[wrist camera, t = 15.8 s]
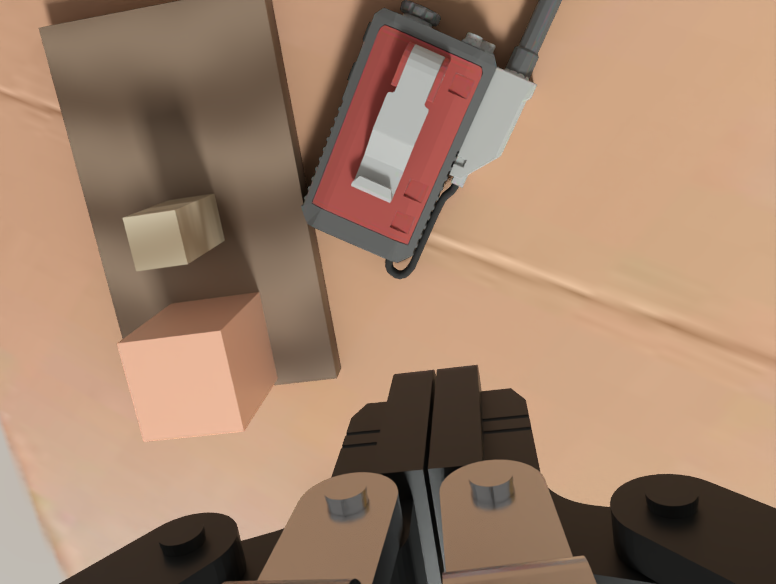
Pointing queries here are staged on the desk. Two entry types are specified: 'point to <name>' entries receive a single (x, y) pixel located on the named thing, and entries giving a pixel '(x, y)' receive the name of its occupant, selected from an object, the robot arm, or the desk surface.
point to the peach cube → (199, 367)
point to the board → (195, 167)
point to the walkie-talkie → (416, 128)
